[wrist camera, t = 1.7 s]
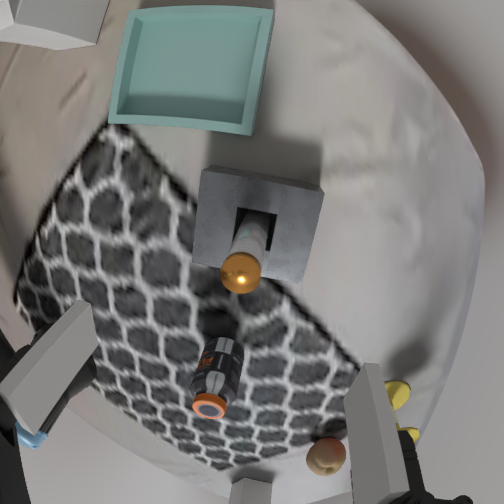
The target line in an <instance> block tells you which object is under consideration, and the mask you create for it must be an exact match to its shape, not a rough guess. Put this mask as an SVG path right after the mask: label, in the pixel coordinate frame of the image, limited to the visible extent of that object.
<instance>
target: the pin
mask: <svg viewBox="0 0 504 504" xmlns="http://www.w3.org/2000/svg"><path fill="white" fill-rule="evenodd" d="M269 222H270V215H269V213H268V212H263V211H258V210H253V209H249V210H248V211H247V212H246V214H245V216H244V219H243V221H242V223H241V225H240V227H239V230H238V232H237V234H236V236H235V238H234V241H233V243H232V245H231V247H230V249H229V252H228V254H227V256H226V258H225V261H224V263H223V265H222V267H221V270H220V278H221V281H222V283H223V285H224V286H225V287H226V288H227V289H229V290H230V291H232V292H235V293H240V294H243V293H248V292H251V291H253V290H254V289H255V288H256V287H257V286H258V284H259V282H260V277H261V271H262V265H263V259H264V253H265V247H266V241H267V235H268V228H269Z"/></svg>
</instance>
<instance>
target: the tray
mask: <svg viewBox="0 0 504 504" xmlns="http://www.w3.org/2000/svg"><path fill="white" fill-rule="evenodd" d="M274 20H275V18H274V10H272V9H264V8H254V7H242V6H222V5H187V6H168V7H156V8H146V9H138V10H130V11H129V15H128V18H127V22H126V26H125V30H124V34H123V38H122V42H121V47H120V51H119V56H118V61H117V66H116V71H115V77H114V82H113V89H112V95H111V102H110V109H109V118H108V123H121V124H145V125H161V126H173V127H185V128H195V129H204V130H212V131H220V132H227V133H234V134H241V135H248V136H253V134H254V128H255V123H256V117H257V111H258V106H259V100H260V95H261V89H262V84H263V78H264V73H265V67H266V62H267V57H268V51H269V46H270V41H271V36H272V31H273V26H274Z"/></svg>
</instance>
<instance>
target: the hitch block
mask: <svg viewBox="0 0 504 504" xmlns="http://www.w3.org/2000/svg"><path fill="white" fill-rule="evenodd" d="M323 198H324V192H323V190H322V189H321V187H320V186H318V185H313V184H309V183H304V182H299V181H294V180H290V179H285V178H279V177H274V176H269V175H264V174H258V173H253V172H247V171H241V170H235V169H229V168H223V167H216V166H210V167H208V168H206V169H204V170H202V172H201V180H200V188H199V196H198V205H197V214H196V224H195V234H194V244H193V255H192V262H193V263H198V264H202V265H207V266H212V267H217V268H221V267H222V265H223V263H224V261H225V258H226V256H227V254H228V252H229V249H230V247H231V245H232V243H233V241H234V238H235V236H236V234H237V232H238V224H239V218H240V212H241V207H242V208H247V209H253V210H258V211H263V212H268V213H274V214H276V219H275V224H274V229H273V234H272V238H270V237H267V241H266V247H265V253H264V259H263V265H262V271H261V276H262V277H267V278H273V279H278V280H283V281H288V282H294V283H299V284H301V283H302V280H303V276H304V272H305V269H306V265H307V261H308V258H309V254H310V250H311V246H312V242H313V238H314V234H315V231H316V227H317V222H318V218H319V214H320V210H321V206H322V202H323Z"/></svg>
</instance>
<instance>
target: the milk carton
mask: <svg viewBox="0 0 504 504" xmlns="http://www.w3.org/2000/svg"><path fill="white" fill-rule="evenodd" d="M108 3H109V0H0V41H4V42H12V43H20V44H26V45H33V46H39V47H44V48H50V49H55V50H66V49H72V48H78V47H85V46H92V45H96V42H97V39H98V35H99V32H100V28H101V25H102V22H103V19H104V15H105V12H106V9H107V6H108Z"/></svg>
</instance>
